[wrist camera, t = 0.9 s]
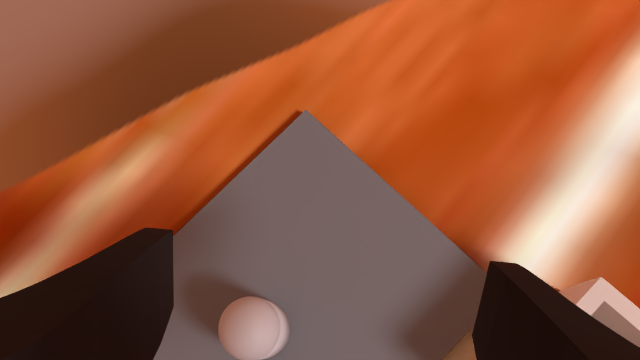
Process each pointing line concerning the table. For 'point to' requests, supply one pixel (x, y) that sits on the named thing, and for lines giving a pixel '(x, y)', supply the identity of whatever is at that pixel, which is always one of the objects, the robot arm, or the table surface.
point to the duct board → (316, 265)
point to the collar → (607, 307)
